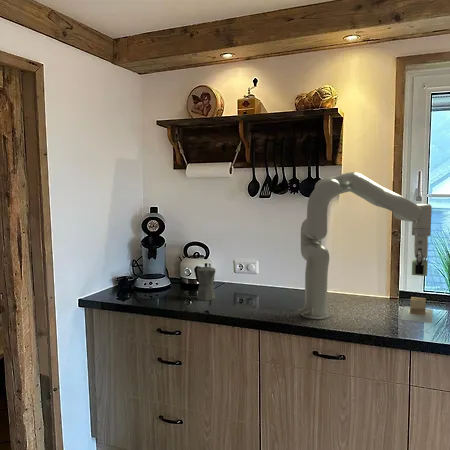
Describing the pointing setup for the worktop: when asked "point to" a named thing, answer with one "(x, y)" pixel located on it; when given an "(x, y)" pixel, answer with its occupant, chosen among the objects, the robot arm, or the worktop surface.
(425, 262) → the green block
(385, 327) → the worktop surface
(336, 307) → the worktop surface
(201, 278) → the coffeepot
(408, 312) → the plan board
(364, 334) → the worktop surface
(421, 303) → the oak block
